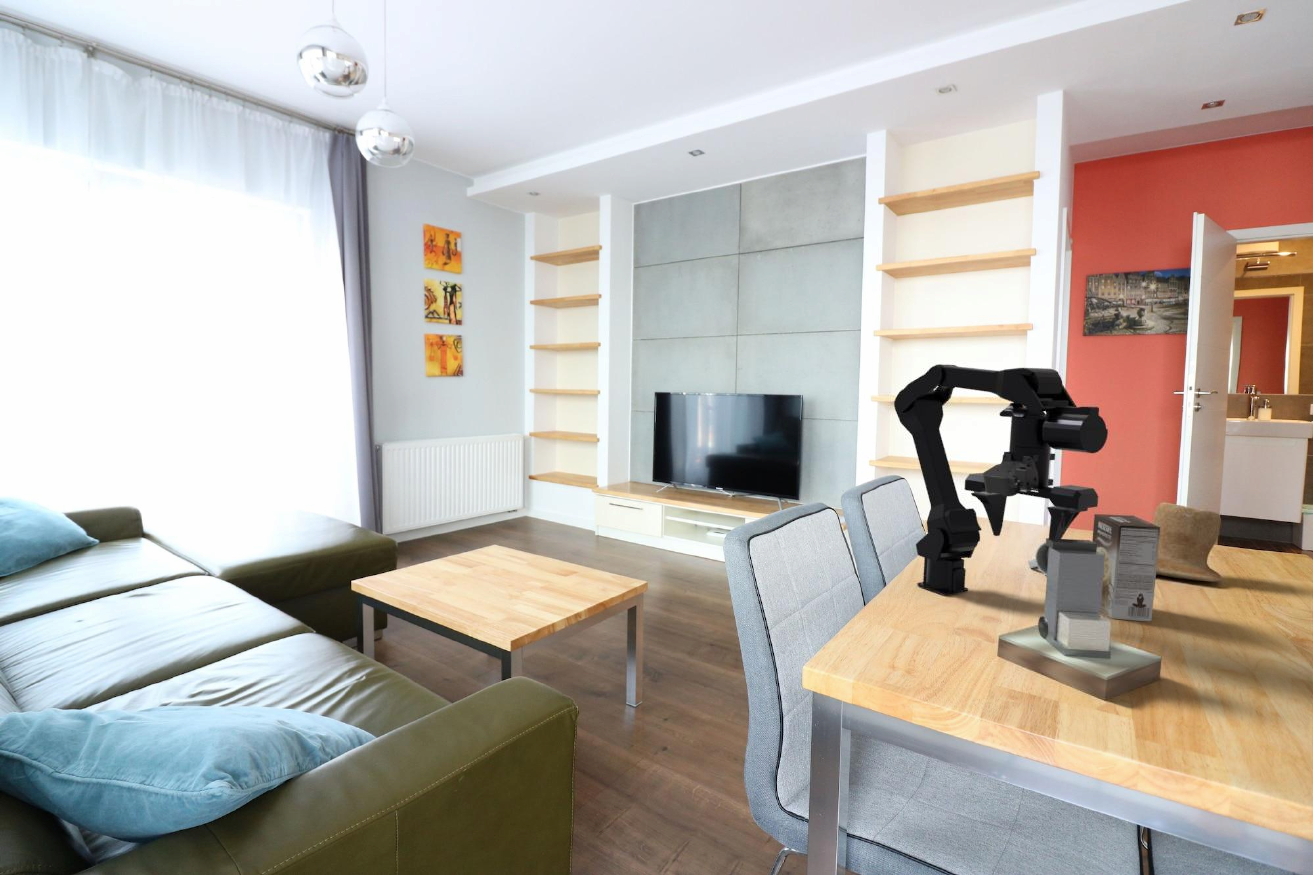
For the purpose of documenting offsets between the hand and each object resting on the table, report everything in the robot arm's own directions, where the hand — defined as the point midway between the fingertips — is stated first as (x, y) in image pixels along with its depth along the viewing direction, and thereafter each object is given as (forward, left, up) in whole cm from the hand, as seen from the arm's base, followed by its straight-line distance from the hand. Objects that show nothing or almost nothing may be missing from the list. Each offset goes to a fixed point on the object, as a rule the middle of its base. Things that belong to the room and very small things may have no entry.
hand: (1023, 542), depth 103 cm
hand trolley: (+13, -10, -10) cm, 20 cm away
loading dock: (+14, -10, -13) cm, 22 cm away
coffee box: (+5, +20, -13) cm, 24 cm away
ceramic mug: (-13, +32, -13) cm, 37 cm away
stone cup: (-2, +54, -13) cm, 56 cm away
